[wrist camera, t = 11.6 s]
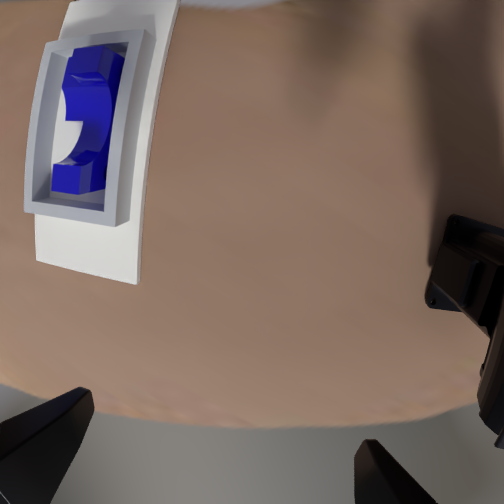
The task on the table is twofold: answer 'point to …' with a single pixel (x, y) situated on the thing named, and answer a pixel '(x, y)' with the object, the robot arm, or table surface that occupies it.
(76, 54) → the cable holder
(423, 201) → the table surface
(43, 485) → the robot arm
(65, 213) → the desk organizer
